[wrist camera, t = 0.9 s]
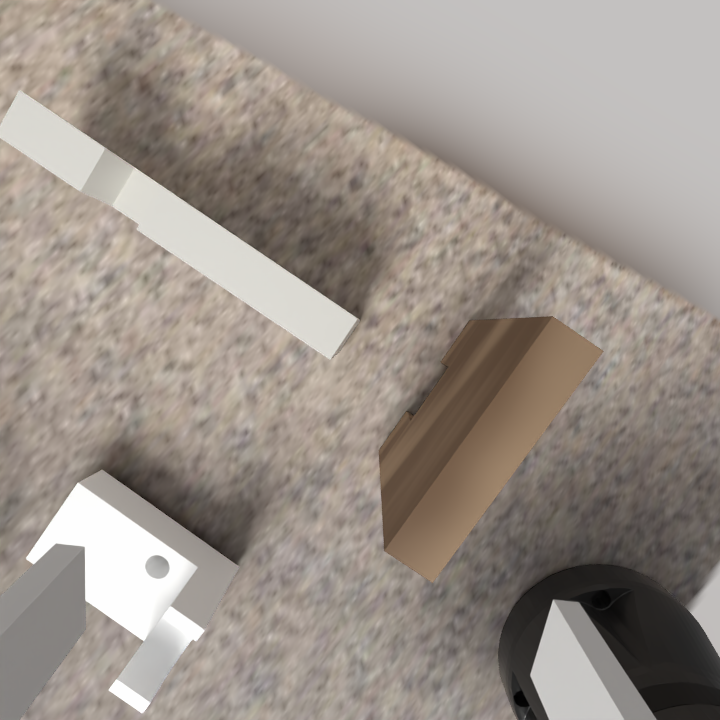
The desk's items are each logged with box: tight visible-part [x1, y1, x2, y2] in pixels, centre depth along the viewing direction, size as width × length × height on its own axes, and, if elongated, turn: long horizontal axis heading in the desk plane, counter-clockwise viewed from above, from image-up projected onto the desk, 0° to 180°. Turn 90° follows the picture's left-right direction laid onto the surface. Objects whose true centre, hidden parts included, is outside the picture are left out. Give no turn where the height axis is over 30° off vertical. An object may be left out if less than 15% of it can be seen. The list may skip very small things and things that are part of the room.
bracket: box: [26, 470, 239, 713], centre depth 29 cm, size 13×7×8 cm, turn 54°
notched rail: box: [0, 90, 360, 360], centre depth 27 cm, size 24×3×6 cm, turn 56°
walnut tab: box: [379, 316, 603, 583], centre depth 24 cm, size 2×12×14 cm, turn 146°
